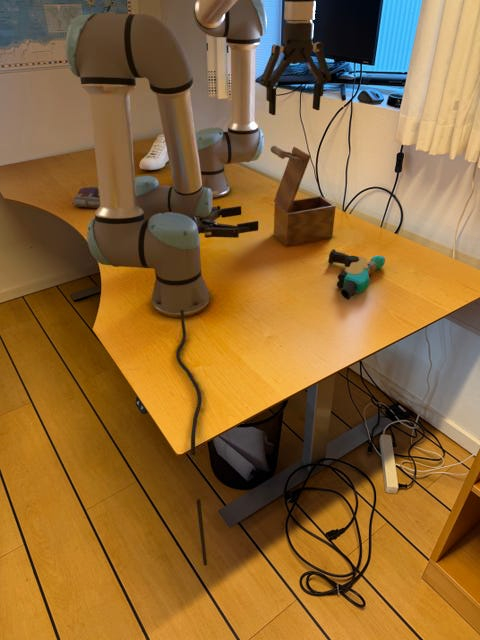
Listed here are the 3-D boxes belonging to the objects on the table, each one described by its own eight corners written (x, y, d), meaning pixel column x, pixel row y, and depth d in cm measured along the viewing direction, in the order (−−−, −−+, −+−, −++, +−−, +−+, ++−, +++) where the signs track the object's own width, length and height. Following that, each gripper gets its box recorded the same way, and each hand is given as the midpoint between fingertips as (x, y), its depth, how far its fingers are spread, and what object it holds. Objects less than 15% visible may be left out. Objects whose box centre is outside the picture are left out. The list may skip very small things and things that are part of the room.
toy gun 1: (130, 197, 185) (114, 212, 174) (86, 194, 188) (67, 209, 177) (128, 187, 183) (112, 202, 171) (84, 184, 186) (65, 199, 174)
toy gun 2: (307, 279, 125) (363, 294, 119) (338, 241, 143) (388, 251, 138) (306, 294, 127) (360, 308, 122) (336, 254, 146) (385, 265, 140)
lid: (295, 147, 143) (270, 139, 139) (310, 156, 136) (285, 148, 132) (275, 202, 151) (251, 196, 147) (289, 213, 144) (264, 208, 140)
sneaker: (133, 173, 208) (129, 144, 201) (161, 153, 230) (158, 127, 223) (155, 175, 205) (151, 146, 198) (180, 155, 227) (178, 129, 220)
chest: (317, 225, 163) (320, 195, 156) (332, 237, 156) (335, 205, 149) (273, 234, 158) (274, 203, 151) (286, 246, 151) (288, 214, 144)
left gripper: (172, 224, 151) (234, 215, 158) (195, 256, 132) (265, 244, 138) (170, 202, 147) (234, 193, 154) (194, 231, 128) (266, 220, 134)
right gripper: (334, 18, 126) (326, 104, 138) (247, 22, 119) (247, 113, 131) (349, 20, 120) (340, 110, 133) (259, 24, 113) (258, 119, 125)
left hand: (249, 217), depth 146 cm, fingers open, 13 cm apart
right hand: (294, 111), depth 132 cm, fingers open, 13 cm apart
